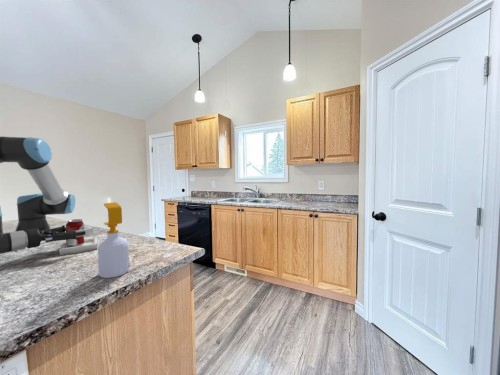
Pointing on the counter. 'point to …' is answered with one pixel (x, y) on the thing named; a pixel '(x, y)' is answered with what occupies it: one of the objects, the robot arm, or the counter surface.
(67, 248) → the square tray
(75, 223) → the soda can
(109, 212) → the soap bottle
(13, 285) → the counter surface
